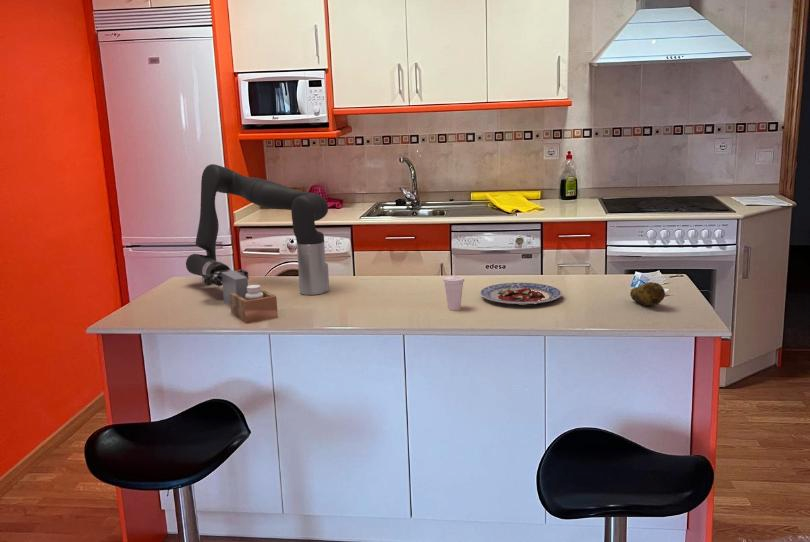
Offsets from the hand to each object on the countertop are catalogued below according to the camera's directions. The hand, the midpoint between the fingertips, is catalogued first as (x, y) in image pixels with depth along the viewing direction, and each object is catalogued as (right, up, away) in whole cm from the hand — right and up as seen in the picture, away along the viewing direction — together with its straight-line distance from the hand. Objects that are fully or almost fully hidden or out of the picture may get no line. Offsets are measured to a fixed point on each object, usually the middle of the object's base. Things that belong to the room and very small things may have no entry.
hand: (232, 281), depth 241 cm
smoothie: (+71, -8, -12) cm, 72 cm away
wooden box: (+9, -10, -12) cm, 19 cm away
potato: (+128, -7, -16) cm, 130 cm away
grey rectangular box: (+1, -8, 0) cm, 8 cm away
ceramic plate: (+93, -6, -2) cm, 93 cm away
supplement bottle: (+10, -11, -14) cm, 21 cm away
